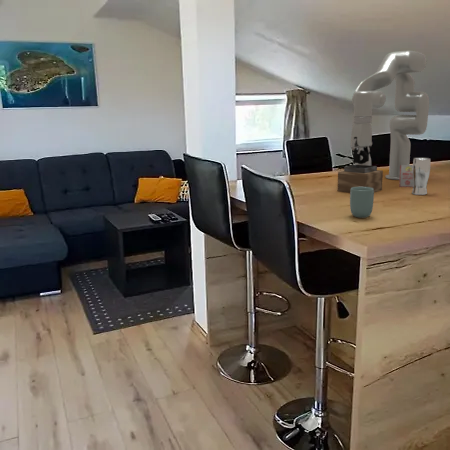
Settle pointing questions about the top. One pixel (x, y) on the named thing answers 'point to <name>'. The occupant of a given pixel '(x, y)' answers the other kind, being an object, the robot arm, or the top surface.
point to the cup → (361, 201)
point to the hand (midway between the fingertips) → (360, 161)
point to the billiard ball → (363, 157)
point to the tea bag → (406, 176)
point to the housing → (360, 177)
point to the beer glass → (420, 175)
